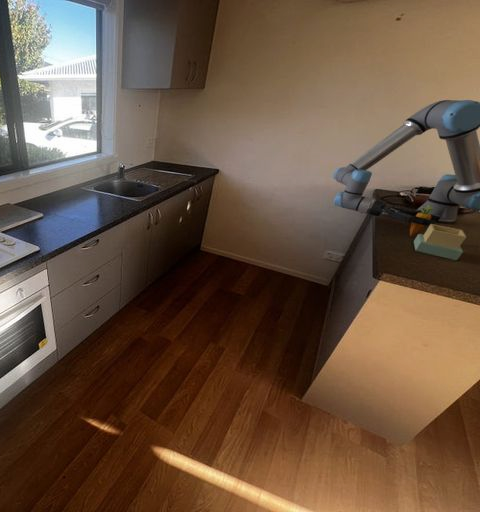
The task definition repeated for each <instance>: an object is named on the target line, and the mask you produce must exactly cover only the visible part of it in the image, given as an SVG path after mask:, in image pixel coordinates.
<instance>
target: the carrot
mask: <svg viewBox="0 0 480 512" xmlns="http://www.w3.org/2000/svg"><path fill="white" fill-rule="evenodd" d="M420 207H421V206H420ZM421 209H423V213H417V215H416V216H417V217H421V218H425V219H429V220H430V219H431V215H430V214H428V213H429V212H430V211H431V210H432V209H433V208H430V205H427V210H426V209H425V208H423V207H421ZM425 227H426V226H425V225H421V224H417V223H413V222H411V224H410V228H409V236H410V237H411V238H412V237H414V236H416V235H418V234H420V232H421V231H422V230H423V229H425Z"/></svg>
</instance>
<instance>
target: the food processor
mask: <svg viewBox="0 0 480 512" xmlns="http://www.w3.org/2000/svg"><path fill="white" fill-rule="evenodd" d="M416 235H417V236H416V237H415V239H414V240H413V245H414V250H415V252H420V253H423V254H428V255H431V256H436V257H440V258H445V259H448V260H453V261H459V258H460V257H461V256H462V254H463V253H464V251H463V249H462V247H461V245H462V244H463V243H464V241H465V240H466V239H467V236H466V234H465V232H464V230H463V229H459V228H455V227H449V226H444V225H438V224H430V226H427V229H426V231H425V232H424V233H418V234H416Z"/></svg>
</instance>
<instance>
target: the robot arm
mask: <svg viewBox="0 0 480 512" xmlns="http://www.w3.org/2000/svg"><path fill="white" fill-rule="evenodd" d="M432 129H435V130H436V132H437V134H438V137H439V139H440V140H444V141H445V142H446V147H447V150H448V155H449V157H450V162H451V164H452V168H453V171H454V174H443V175H442V176H441V177H440V179H439V180H438V181H437V183H436V185H435V186H434V187H433V189H432V192H431V193H430V195H429V197H428V198H427V200H426V201H425V202H424V203H423V204H422V205H420V207H418V208H417V209H412V208H407V207H401V206H397V205H390V206H389V205H387V203H388V201H386V200H383V199H382V200H381V199H376V198H373V197H367V196H363V195H364V193H365V190H366V188H367V186H368V184H369V183H370V181H371V177H372V175H373V172H372V171H370V170H369V169H370V168H372V167H374V165H376V164H377V163H379V162H380V161H382V160H383V159H384V158H386V157H388V156H389V155H391V153H393V152H395V151H396V150H397V149H399V148H400V147H402V146H403V145H404V144H406V143H407V142H409V141H410V140H411V139H413V138H414V137H416V136H421V135H423V134H424V133H425V132H427V131H429V130H432ZM479 129H480V101H477V100H472V99H463V100H459V99H458V100H457V99H456V100H453V99H452V100H451V99H444V100H439V101H435V102H433V103H431V104H428V105H426V106H424V107H423V108H422V109H421V108H420V110H418V111H417V112H415V113H414V114H412V115H411V116H409V117H407V119H405V120H404V121H403V122H402V125H401V126H399V127H398V128H397V129H395V130H394V131H392V132H391V133H390V134H389V135H387V136H386V137H384V138H383V139H382V140H380V141H378V143H377V144H375V145H374V146H372V147H371V148H370V149H368V150H367V151H366V152H364V153H363V154H362V155H360V156H358V157H357V158H356V159H355V160H353V161H352V162H351V163H348V165H347V166H344V167H343V166H342V167H339V168H337V169H336V170H334V172H333V174H332V177H333V179H334V180H335V181H336V182H338V183H340V184H341V185H344V186H345V188H344V190H343V191H339V192H338V193H337V194H336V196H335V197H334V200H333V205H335V207H339V208H342V209H346V210H351V211H356V212H358V213H360V214H369V215H370V216H375V217H379V216H383V217H388V218H391V219H393V220H397V221H400V222H403V223H407V224H409V225H411V224H412V222H413V223H417V224H421V225H425V227H429V226H430V224H434V225H436V224H437V223H443V224H453V223H455V221H456V219H457V216H458V211H459V207H460V206H461V207H463V208H466V209H467V210H471V211H476V212H480V139H479V136H478V130H479ZM427 205H430V208H433V209H432V210H431V211H430V212H429V213H428V214H430V215H431V219H430V220H429V219H425V218H421V217H417V216H416V215H417V213H423V209H421V207H423V208H425V209H426V210H427Z"/></svg>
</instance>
